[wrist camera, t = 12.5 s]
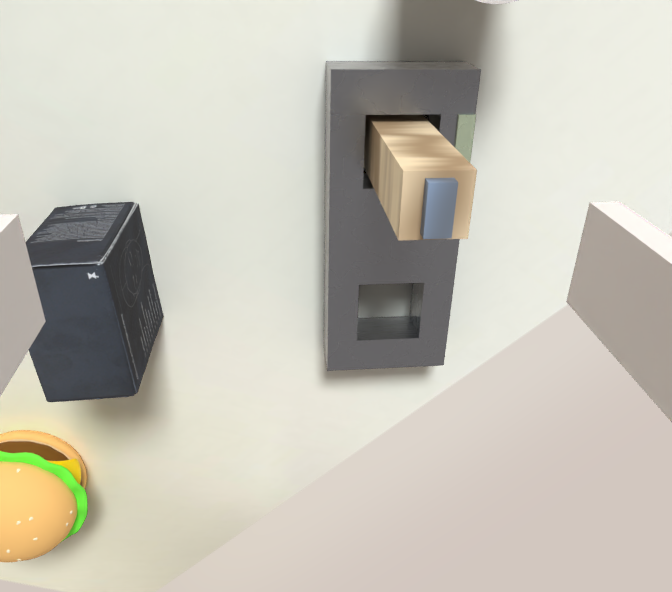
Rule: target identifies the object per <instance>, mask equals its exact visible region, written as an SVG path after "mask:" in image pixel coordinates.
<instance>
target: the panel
mask: <svg viewBox="0 0 672 592" xmlns="http://www.w3.org/2000/svg"><path fill="white" fill-rule="evenodd" d="M480 73H481V69H479V68H477V67H475V66H473V65H471V64H469V63H467V62H400V61H326V136H325V261H324V352H325V359H326V365H327V371H332V370H353V369H374V368H396V367H417V366H438V365H444V357H445V349H446V342H447V334H448V326H449V318H450V310H451V302H452V294H453V286H454V278H455V271H456V263H457V255H458V247H459V239H437V240H399V241H398V239H397V236H396V234H395V232H394V230H393V228H392V226H391V224H390V221H389V219H388V217H387V215H386V213H385V211H384V209H383V207H382V204H381V202H380V200H379V198H378V196H377V194H376V192H375V189H374V187H373V185H372V183H371V181H370V179H369V177H368V174H363V171H364V145H365V120H366V115H421V114H428V121H429V122H430V123H431V124H432V125H433V126H434V127H435V128H436V129H437V130H438V131H439V132H440V133H441V134H442V135H443V136H444V137H445V138H446V139H447V140H448V141H449V142H450V143H451V144H452V145H453V146H454V147H455V148H456V149H457V150H458V151H459V152H460V153H461V154H462V155H463V156H464V157H465V158H466V160H467V161H468V162H469V163H470V160H471V152H472V144H473V136H474V128H475V120H476V114H475V113H476V105H477V97H478V89H479V81H480ZM399 283H413V289H412V300H411V312H410V316H404V317H379V318H358V296H359V285H370V284H399Z"/></svg>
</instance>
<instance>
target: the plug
mask: <svg viewBox="0 0 672 592" xmlns="http://www.w3.org/2000/svg"><path fill="white" fill-rule="evenodd" d="M364 168H365V170H366V172H367V174H368V177H369V179H370V181H371V183H372V185H373V187H374V189H375V192H376V194H377V196H378V198H379V200H380V202H381V204H382V207H383V209H384V211H385V213H386V215H387V217H388V219H389V221H390V224H391V226H392V228H393V230H394V232H395V234H396V236H397V239H398V241H399V240H437V239H468V233H469V226H470V218H471V211H472V203H473V196H474V188H475V181H476V174H477V170H476V169H475V168H474V167H473V166H472V165H471V164H470V163H469V162H468V161H467V160H466V158H465V157H464V156H463V155H462V154H461V153H460V152H459V151H458V150H457V149H456V148H455V147H454V146H453V145H452V144H451V143H450V142H449V141H448V140H447V139H446V138H445V137H444V136H443V135H442V134H441V133H440V132H439V131H438V130H437V129H436V128H435V127H434V126H433V125H432V124H431V123H430V122H429V121H428V120H427V119H426V118H425V117H424V116H423V115H422V114H421V115H366V120H365V145H364Z"/></svg>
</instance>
